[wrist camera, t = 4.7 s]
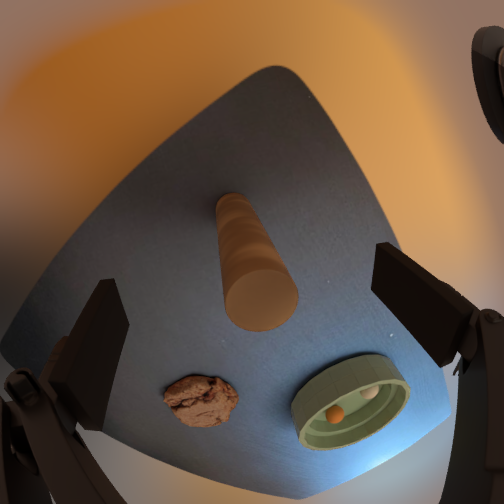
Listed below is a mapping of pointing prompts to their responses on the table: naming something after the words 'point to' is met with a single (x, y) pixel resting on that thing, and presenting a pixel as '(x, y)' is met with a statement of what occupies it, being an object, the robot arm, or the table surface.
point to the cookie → (201, 400)
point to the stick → (251, 269)
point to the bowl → (349, 402)
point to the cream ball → (369, 392)
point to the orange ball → (334, 414)
